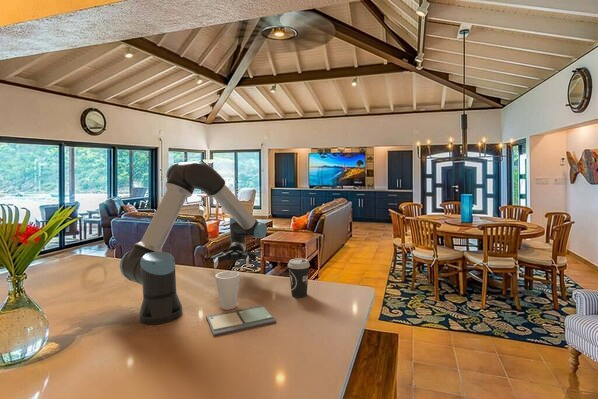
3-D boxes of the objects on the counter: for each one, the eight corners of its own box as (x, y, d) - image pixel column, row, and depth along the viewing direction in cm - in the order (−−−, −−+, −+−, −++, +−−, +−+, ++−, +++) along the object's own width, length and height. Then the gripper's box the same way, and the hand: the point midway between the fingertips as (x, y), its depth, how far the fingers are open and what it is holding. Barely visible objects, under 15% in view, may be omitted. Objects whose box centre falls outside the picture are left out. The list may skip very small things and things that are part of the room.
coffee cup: (301, 301, 142) (300, 265, 140) (283, 296, 147) (282, 261, 146) (314, 293, 149) (314, 259, 148) (297, 289, 155) (296, 256, 153)
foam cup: (215, 303, 141) (214, 272, 139) (238, 300, 144) (237, 269, 143) (218, 312, 132) (217, 279, 130) (242, 308, 135) (241, 276, 134)
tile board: (213, 336, 114) (213, 332, 114) (206, 318, 127) (206, 315, 127) (276, 322, 123) (276, 319, 123) (263, 307, 136) (262, 304, 136)
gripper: (262, 257, 169) (260, 271, 148) (210, 259, 167) (201, 274, 146) (261, 242, 168) (260, 254, 147) (209, 244, 166) (200, 257, 145)
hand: (231, 264), depth 146 cm, fingers open, 13 cm apart
